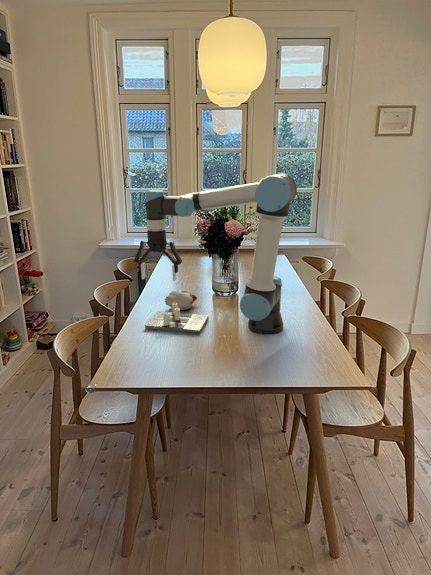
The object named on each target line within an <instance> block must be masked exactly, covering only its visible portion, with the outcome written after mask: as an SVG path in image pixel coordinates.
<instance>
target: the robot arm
mask: <svg viewBox="0 0 431 575" xmlns="http://www.w3.org/2000/svg"><path fill="white" fill-rule="evenodd" d="M297 192H298V185H297V183H296V180H295V178H293V177H292V176H291V175H290V174H287V173H277V174H270V175H266V176H265V177H263V178H261V179H260V180H259V182H253V183H247V184H241V185H240V184H239V185H234V186H227V187H221V188H217V189H216V188H215V189H210V190H209V189H208V190H204V191H197V192H194V191H193V192H189V193H187V194H182V195H176V196H174V195H171V196H169V195H168V196H167V195H165V191H164V190H161V189H150V190H147V191H146V192H145V193H144V194H145V195H144V196H145V199H144V202H145V203H144V204H145V213H146V230H147V229H148V230H147V232H146V235H147V240H145V239H142V240H140V243H139V247H138V250H137V253H136V255H135V257H134V260H133V262H134V263H137V264H138V271H140V274H141V280H145V278H146V277H147V276H146V266H145V265H146V263H145V262H144V261H145V260H146V259H147V257H148V256H149V255H150V254H151V252H153V253H161V252H162V253H163V254H164V255H165V256H166V257H167V258H168V260H169V261H170V262H171V263H172V268H171V269H172V270H171V271H172V282H175V281H176V279H177V273H178V272H179V265H181V264H182V263H183V259H182V257H181V256H180V253H179V252H178V250H177V248H176V246H175V241H174V240H171V241H167V230H166V216H173V217H181V218H183V217H191V216H192V214H193V213H194V212H200V211H205V210H212V209H213V210H214V209H220V208H221V209H222V208H227V207H235V206H242V205H249V204H256V208H255V213H256V215H257V217H258V218H259V219H258V222H257V223H258V224H257V230H256V238H255V239H256V240H255V245H254V253H253V258H252V264H251V273H250V278H248V279H247V280H246V282H245V287H244V293H243V296H241V299H240V301H239V309H240V312H241V313H242V314H243V316H244V317H246V318H247V319H248V321H247V328H248V329H249V331H251V332H252V333H255V334H259V335H264V336H265V335H268V336H269V335H276V334H279V333H281V332H282V331H283V330H284V322H283V321H284V320H283V318H282V314H281V313H282V312H281V300H282V286H283V284H282V283H283V282H282V279H281V277H279V276H275V271H276V265H277V260H278V253H279V247H280V242H281V237H282V236H281V235H282V229H283V224H284V223H283V222H284V220H285V219H287V218H288V217H289V213H290V207H291V202H293V201H294V199H295V197H296V195H297ZM146 246H148V249H147V250H146V252H145V253H144V254H143V255H142V253H143V251H144V248H145V247H146ZM167 246H168V248H170V250H171V252H170V250H169V249H168V248H167Z"/></svg>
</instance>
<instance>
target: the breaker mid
mask: <svg viewBox="0 0 431 575" xmlns="http://www.w3.org/2000/svg"><path fill="white" fill-rule="evenodd" d="M174 311H175V320H178V321H179V320H180V313H181V310H180V308H176V309H175V310H174Z"/></svg>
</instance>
